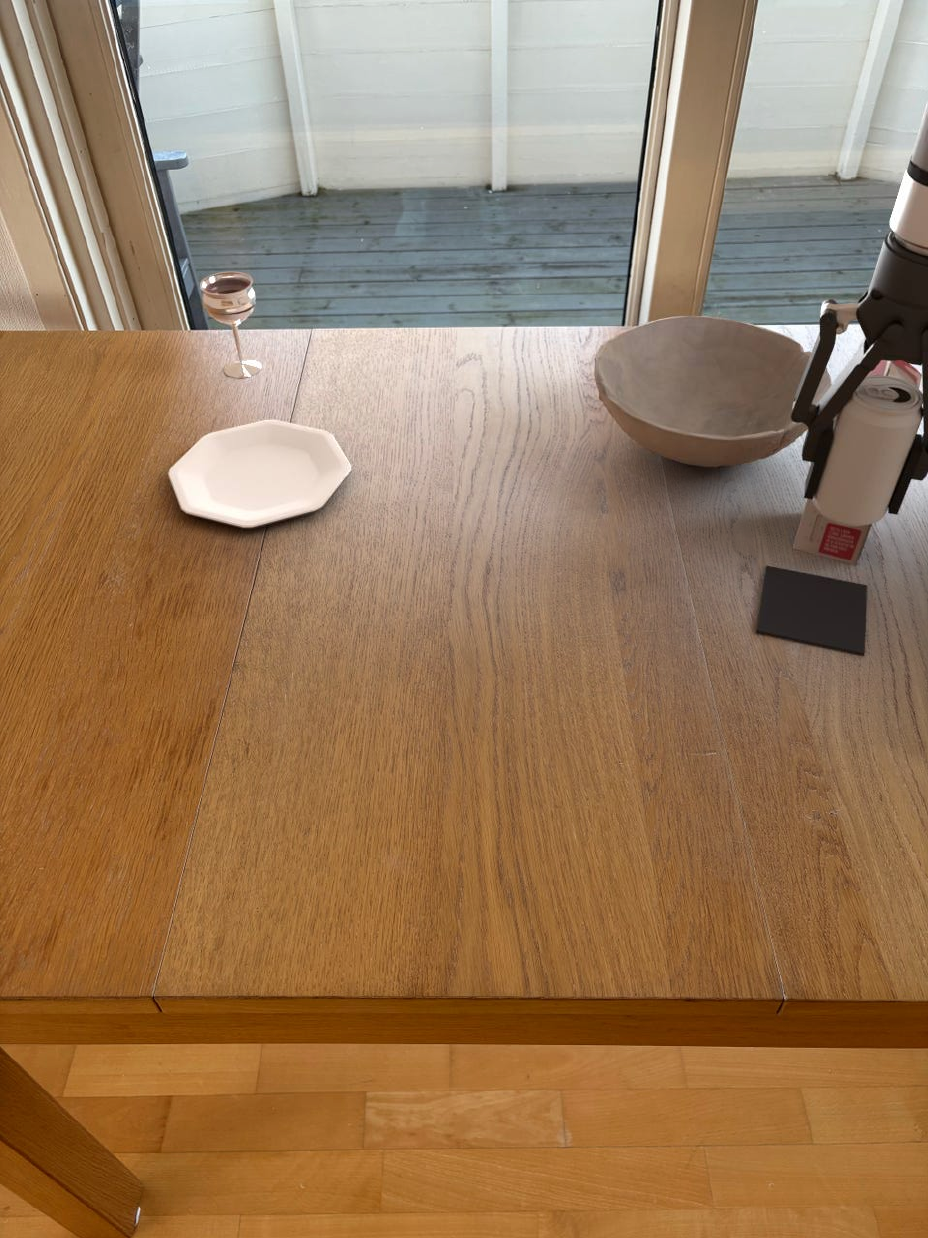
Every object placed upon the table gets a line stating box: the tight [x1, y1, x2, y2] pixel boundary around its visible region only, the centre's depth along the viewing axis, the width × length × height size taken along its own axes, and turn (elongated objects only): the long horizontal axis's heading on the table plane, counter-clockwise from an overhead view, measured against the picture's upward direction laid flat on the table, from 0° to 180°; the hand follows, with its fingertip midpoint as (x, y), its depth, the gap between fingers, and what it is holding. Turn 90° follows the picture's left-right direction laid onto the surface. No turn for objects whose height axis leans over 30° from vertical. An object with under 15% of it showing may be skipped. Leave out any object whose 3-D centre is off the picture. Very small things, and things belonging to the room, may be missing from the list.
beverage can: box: [813, 375, 923, 526], centre depth 81 cm, size 6×6×12 cm
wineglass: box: [199, 271, 262, 379], centre depth 124 cm, size 7×7×12 cm
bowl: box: [593, 315, 832, 468], centre depth 111 cm, size 26×26×10 cm
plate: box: [167, 419, 352, 530], centre depth 109 cm, size 20×20×2 cm
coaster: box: [755, 564, 868, 656], centre depth 94 cm, size 10×10×1 cm
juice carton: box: [791, 360, 922, 566], centre depth 94 cm, size 7×7×22 cm
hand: (850, 497), depth 84 cm, fingers closed on beverage can, 6 cm apart
